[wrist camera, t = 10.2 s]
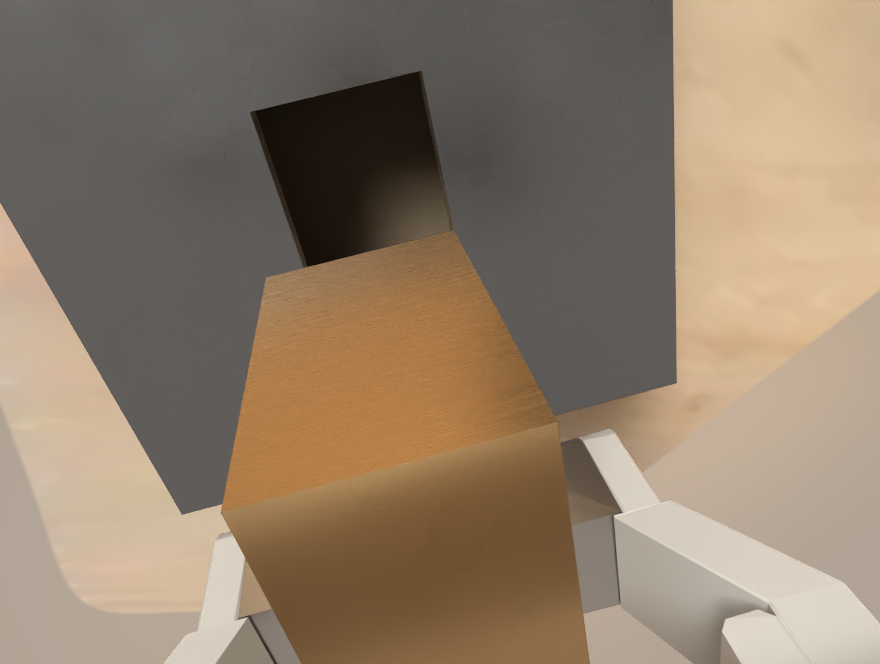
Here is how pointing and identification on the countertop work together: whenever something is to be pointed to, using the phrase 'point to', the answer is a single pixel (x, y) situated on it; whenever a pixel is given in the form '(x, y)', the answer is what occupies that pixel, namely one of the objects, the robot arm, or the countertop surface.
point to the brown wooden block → (402, 470)
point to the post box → (264, 207)
